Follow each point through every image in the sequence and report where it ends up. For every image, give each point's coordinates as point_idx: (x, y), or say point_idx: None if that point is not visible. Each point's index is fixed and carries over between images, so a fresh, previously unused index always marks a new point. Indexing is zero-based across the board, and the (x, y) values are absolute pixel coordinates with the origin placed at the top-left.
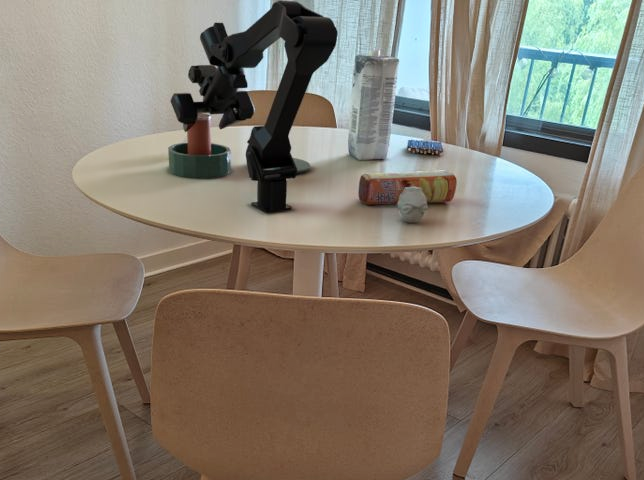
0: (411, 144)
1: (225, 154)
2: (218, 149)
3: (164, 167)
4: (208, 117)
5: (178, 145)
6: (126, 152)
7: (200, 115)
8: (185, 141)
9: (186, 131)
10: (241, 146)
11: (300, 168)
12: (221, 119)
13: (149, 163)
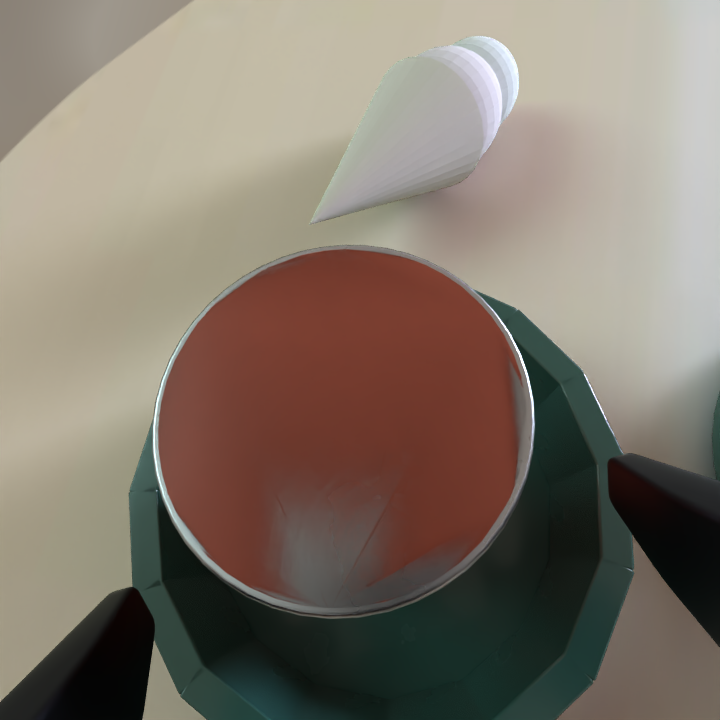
0: None
1: (572, 702)
2: (534, 376)
3: None
4: (478, 557)
5: None
6: (129, 134)
7: (366, 407)
8: (343, 197)
9: (147, 650)
10: (673, 51)
11: None
12: (705, 523)
13: (158, 312)
